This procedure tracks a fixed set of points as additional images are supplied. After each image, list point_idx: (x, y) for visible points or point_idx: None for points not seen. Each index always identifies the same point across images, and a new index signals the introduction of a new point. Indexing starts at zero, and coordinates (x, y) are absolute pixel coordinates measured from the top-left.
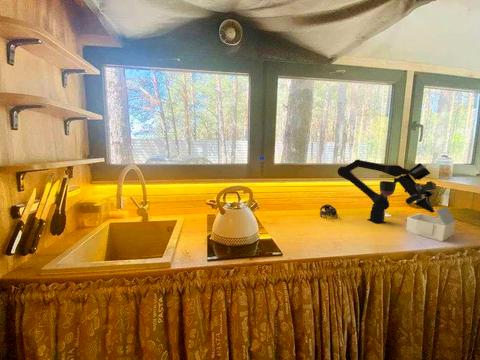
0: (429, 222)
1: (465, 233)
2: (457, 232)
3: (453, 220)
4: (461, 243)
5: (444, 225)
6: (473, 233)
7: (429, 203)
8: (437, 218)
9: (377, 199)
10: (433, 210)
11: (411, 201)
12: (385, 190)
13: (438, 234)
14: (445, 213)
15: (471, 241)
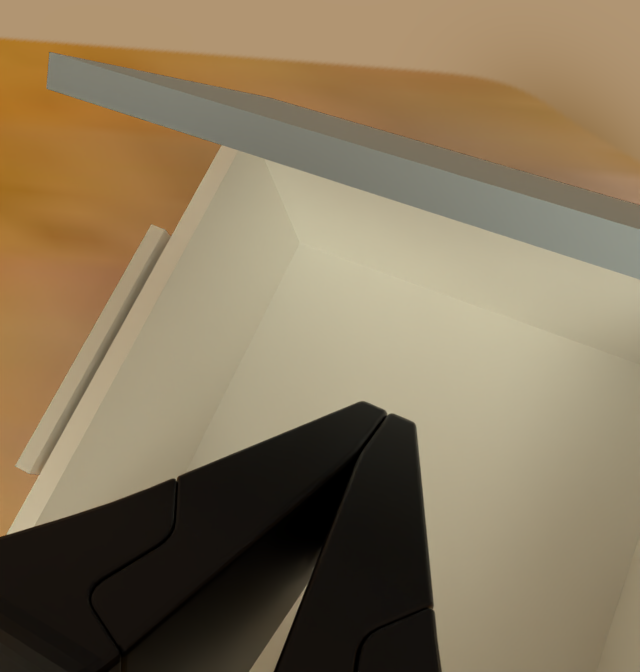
0: (141, 469)
1: (138, 118)
2: (143, 181)
3: (339, 118)
4: (588, 188)
5: (233, 280)
6: (95, 58)
7: (214, 583)
8: (143, 346)
9: None
10: (406, 432)
11: None
12: None
13: None
14: (463, 163)
15: (420, 98)
